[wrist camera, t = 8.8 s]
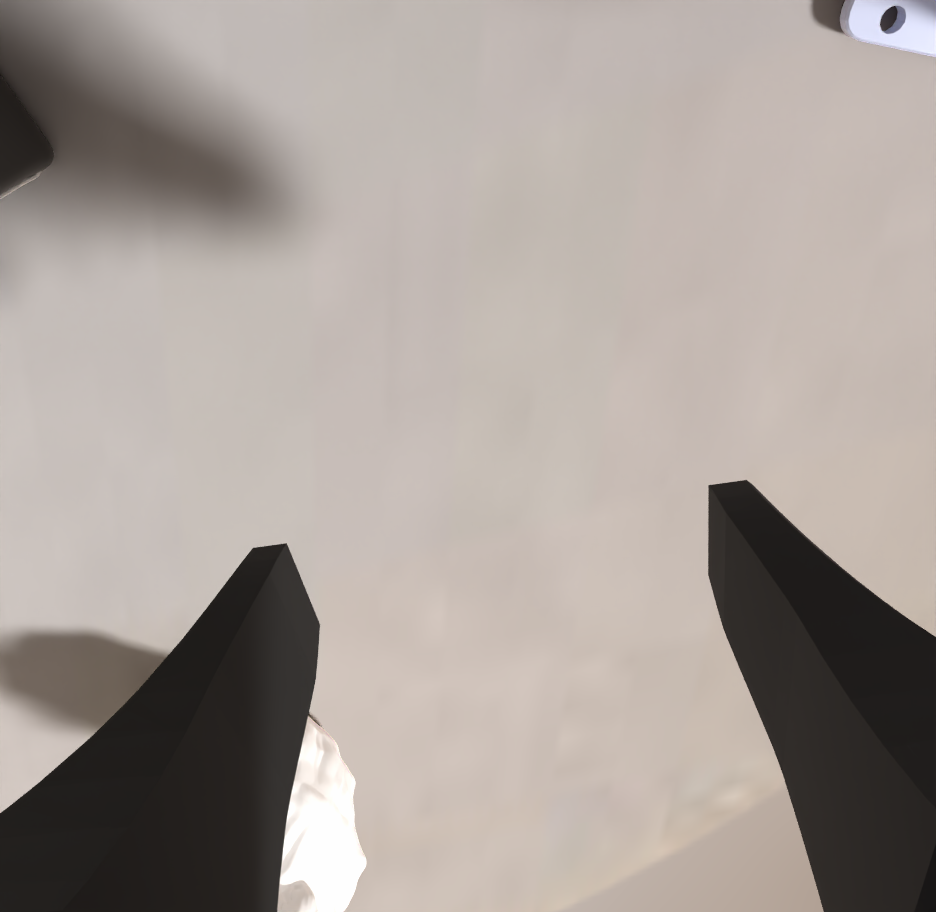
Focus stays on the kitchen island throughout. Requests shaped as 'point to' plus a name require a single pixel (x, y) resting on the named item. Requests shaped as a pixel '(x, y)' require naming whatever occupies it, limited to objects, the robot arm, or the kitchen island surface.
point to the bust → (320, 831)
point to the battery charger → (19, 144)
